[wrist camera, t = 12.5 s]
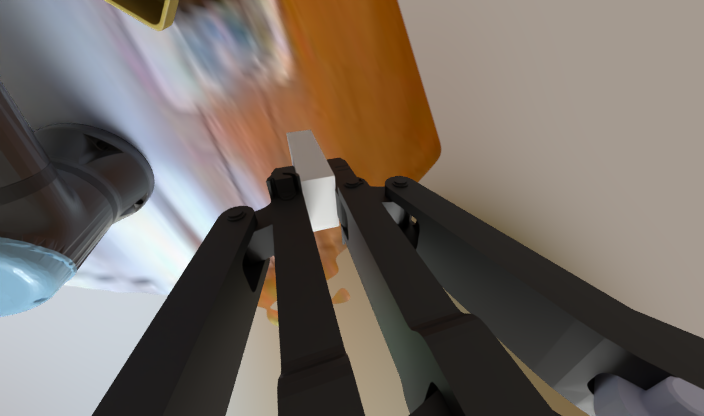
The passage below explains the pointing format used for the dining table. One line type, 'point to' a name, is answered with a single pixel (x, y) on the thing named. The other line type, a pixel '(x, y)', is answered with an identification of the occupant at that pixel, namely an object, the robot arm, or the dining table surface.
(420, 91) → the dining table surface
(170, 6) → the flower pot
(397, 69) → the dining table surface
